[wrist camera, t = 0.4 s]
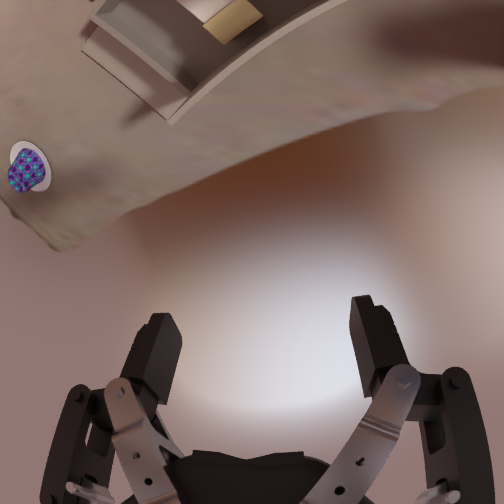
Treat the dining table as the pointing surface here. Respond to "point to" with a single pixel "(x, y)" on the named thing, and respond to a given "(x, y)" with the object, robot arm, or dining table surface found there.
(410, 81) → the dining table surface
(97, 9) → the carton
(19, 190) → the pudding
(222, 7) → the block
